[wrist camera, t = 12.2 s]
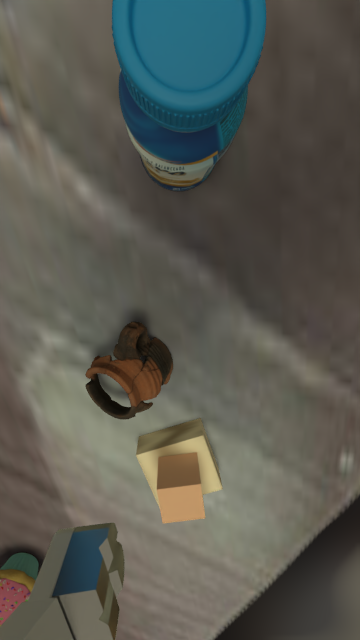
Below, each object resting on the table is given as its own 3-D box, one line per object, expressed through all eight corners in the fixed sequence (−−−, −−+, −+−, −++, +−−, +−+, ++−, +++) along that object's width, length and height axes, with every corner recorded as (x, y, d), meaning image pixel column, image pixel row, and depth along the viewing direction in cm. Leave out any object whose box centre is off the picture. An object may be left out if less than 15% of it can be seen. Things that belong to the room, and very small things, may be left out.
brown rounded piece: (177, 391, 40) (145, 437, 34) (120, 369, 43) (81, 407, 37) (180, 314, 34) (142, 353, 27) (113, 296, 37) (65, 326, 31)
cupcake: (14, 587, 49) (-35, 697, 37) (-15, 553, 46) (-77, 658, 35) (60, 571, 48) (25, 678, 36) (33, 535, 46) (-14, 636, 34)
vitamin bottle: (232, 162, 32) (325, 53, 13) (168, 209, 33) (164, 172, 14) (189, 86, 30) (222, -182, 11) (122, 138, 31) (44, -20, 12)
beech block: (200, 416, 41) (203, 435, 37) (218, 466, 44) (222, 489, 40) (139, 434, 42) (136, 455, 38) (160, 483, 44) (159, 507, 40)
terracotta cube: (197, 452, 38) (200, 484, 33) (201, 483, 39) (205, 518, 34) (158, 457, 38) (156, 489, 33) (163, 487, 39) (162, 523, 34)
